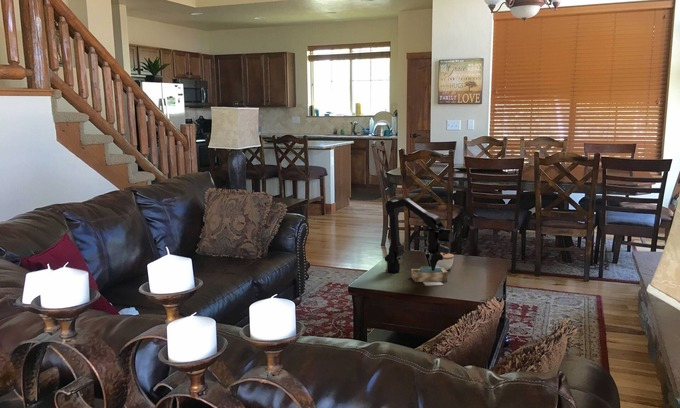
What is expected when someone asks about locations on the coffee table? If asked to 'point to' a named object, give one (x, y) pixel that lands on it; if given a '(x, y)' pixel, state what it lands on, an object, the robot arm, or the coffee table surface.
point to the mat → (432, 283)
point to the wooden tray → (429, 275)
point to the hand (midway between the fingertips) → (431, 269)
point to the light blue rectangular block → (429, 269)
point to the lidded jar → (446, 261)
